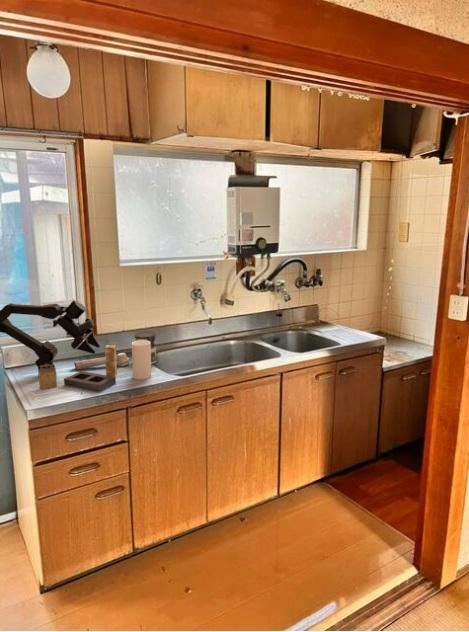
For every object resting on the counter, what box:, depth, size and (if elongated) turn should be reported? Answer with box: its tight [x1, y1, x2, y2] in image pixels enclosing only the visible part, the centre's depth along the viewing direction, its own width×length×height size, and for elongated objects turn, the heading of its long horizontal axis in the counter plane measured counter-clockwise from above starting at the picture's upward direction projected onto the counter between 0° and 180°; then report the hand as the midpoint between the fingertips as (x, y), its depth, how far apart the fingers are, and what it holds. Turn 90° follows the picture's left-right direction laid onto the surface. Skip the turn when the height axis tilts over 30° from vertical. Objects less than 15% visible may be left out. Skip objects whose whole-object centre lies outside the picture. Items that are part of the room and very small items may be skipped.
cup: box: [131, 340, 152, 381], centre depth 209 cm, size 8×8×16 cm
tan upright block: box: [37, 364, 58, 390], centre depth 195 cm, size 7×4×10 cm, turn 120°
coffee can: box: [133, 331, 157, 365], centre depth 230 cm, size 10×10×14 cm
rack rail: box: [63, 370, 117, 393], centre depth 200 cm, size 18×11×3 cm, turn 68°
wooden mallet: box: [73, 352, 130, 371], centre depth 222 cm, size 5×7×25 cm
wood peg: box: [104, 344, 118, 377], centre depth 210 cm, size 4×4×14 cm
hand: (97, 350), depth 208 cm, fingers open, 9 cm apart
